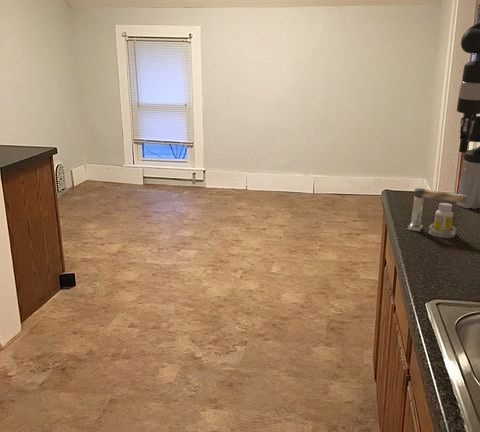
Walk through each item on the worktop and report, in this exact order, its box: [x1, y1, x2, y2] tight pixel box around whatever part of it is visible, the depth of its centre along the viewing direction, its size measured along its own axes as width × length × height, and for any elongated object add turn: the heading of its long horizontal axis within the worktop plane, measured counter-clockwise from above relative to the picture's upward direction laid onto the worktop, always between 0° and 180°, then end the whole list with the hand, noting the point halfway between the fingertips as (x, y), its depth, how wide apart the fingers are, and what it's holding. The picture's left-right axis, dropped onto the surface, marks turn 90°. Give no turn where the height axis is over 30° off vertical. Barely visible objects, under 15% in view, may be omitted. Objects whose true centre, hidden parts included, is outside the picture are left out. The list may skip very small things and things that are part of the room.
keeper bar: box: [413, 187, 466, 203], centre depth 180 cm, size 16×3×2 cm, turn 66°
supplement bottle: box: [433, 202, 454, 231], centre depth 181 cm, size 5×5×10 cm
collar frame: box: [407, 196, 457, 239], centre depth 182 cm, size 8×14×11 cm, turn 63°
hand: (462, 151), depth 180 cm, fingers closed
